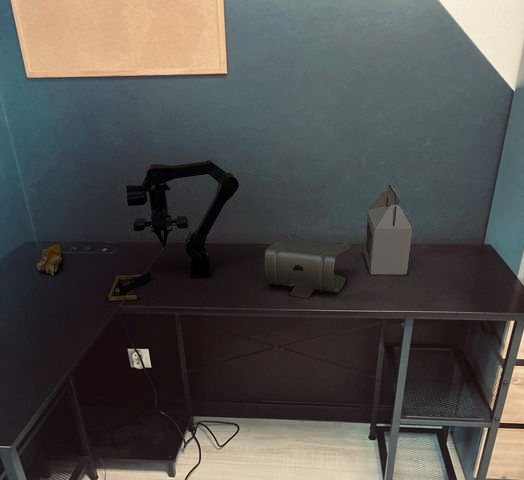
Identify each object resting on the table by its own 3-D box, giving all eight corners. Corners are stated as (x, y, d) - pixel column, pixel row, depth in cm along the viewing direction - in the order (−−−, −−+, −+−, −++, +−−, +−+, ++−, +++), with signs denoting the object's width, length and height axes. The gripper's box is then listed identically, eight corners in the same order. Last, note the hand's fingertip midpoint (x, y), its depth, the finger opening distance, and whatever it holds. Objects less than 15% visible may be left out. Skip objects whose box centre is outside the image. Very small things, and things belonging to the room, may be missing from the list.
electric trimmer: (153, 281, 194) (152, 273, 193) (120, 295, 184) (119, 287, 182) (147, 278, 197) (145, 270, 195) (113, 293, 186) (112, 284, 184)
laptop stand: (262, 293, 183) (261, 250, 175) (283, 268, 202) (283, 228, 194) (334, 303, 175) (337, 259, 167) (350, 276, 194) (352, 235, 186)
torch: (62, 263, 222) (54, 278, 199) (43, 255, 219) (32, 271, 196) (69, 244, 219) (60, 258, 197) (49, 237, 217) (38, 250, 194)
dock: (143, 277, 197) (142, 273, 196) (136, 299, 181) (135, 295, 180) (117, 278, 197) (116, 275, 196) (108, 300, 181) (107, 296, 180)
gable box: (406, 275, 194) (416, 198, 179) (370, 274, 195) (377, 198, 180) (397, 253, 213) (405, 182, 198) (364, 253, 214) (370, 182, 199)
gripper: (128, 211, 175) (135, 256, 183) (185, 208, 176) (189, 253, 184) (132, 202, 185) (139, 245, 193) (186, 199, 186) (190, 242, 194)
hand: (164, 246), depth 191 cm, fingers closed
